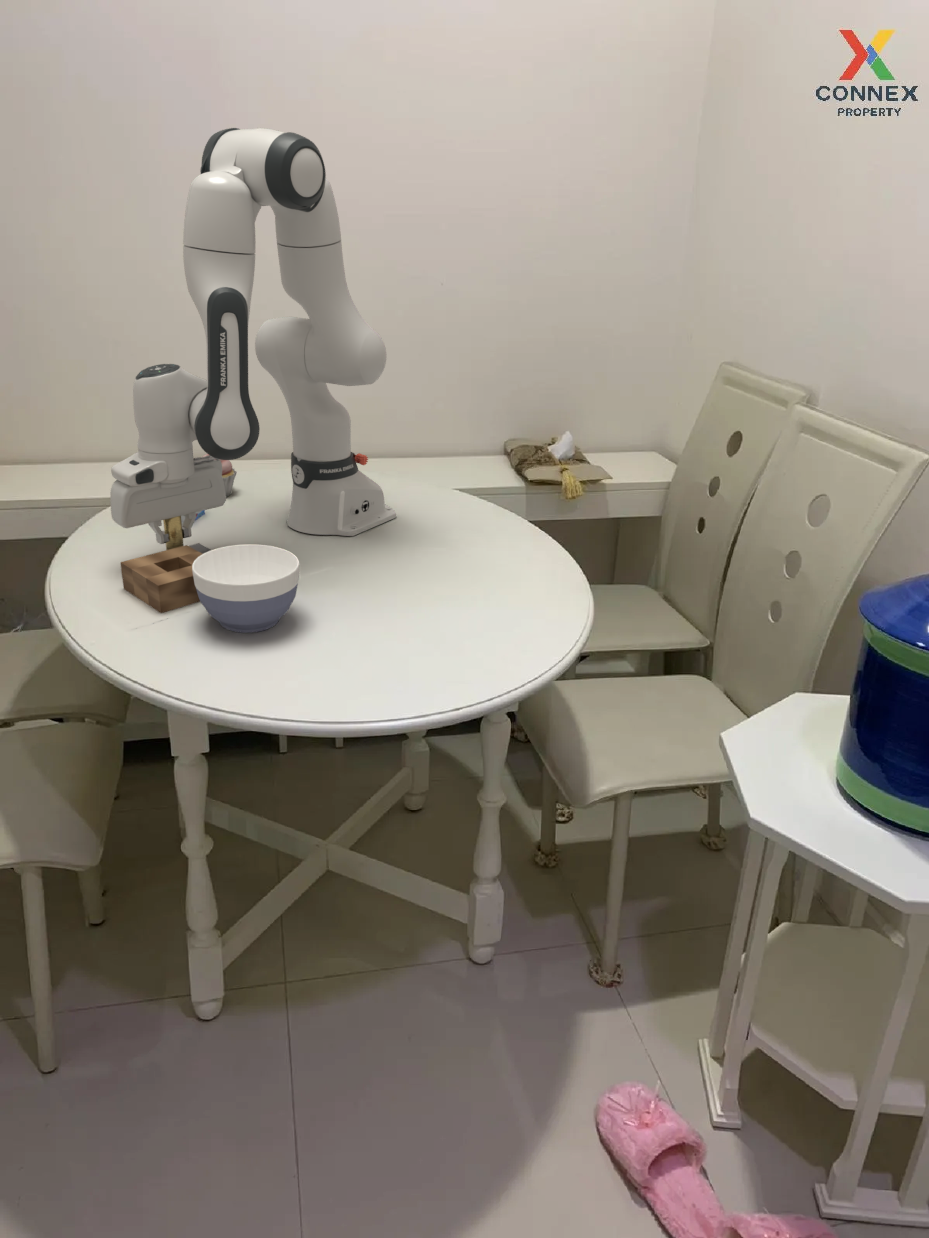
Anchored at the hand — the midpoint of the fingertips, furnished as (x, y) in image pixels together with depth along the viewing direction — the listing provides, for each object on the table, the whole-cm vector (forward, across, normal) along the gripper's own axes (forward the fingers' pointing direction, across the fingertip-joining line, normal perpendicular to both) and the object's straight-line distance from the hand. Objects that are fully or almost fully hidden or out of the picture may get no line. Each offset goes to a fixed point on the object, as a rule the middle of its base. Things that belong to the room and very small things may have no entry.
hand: (174, 539), depth 162 cm
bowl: (+4, +4, +28) cm, 29 cm away
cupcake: (+4, -25, -27) cm, 37 cm away
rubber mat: (+4, -2, 0) cm, 4 cm away
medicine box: (+4, -12, -17) cm, 21 cm away
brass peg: (+4, 0, 0) cm, 4 cm away
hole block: (+4, +7, +12) cm, 14 cm away
